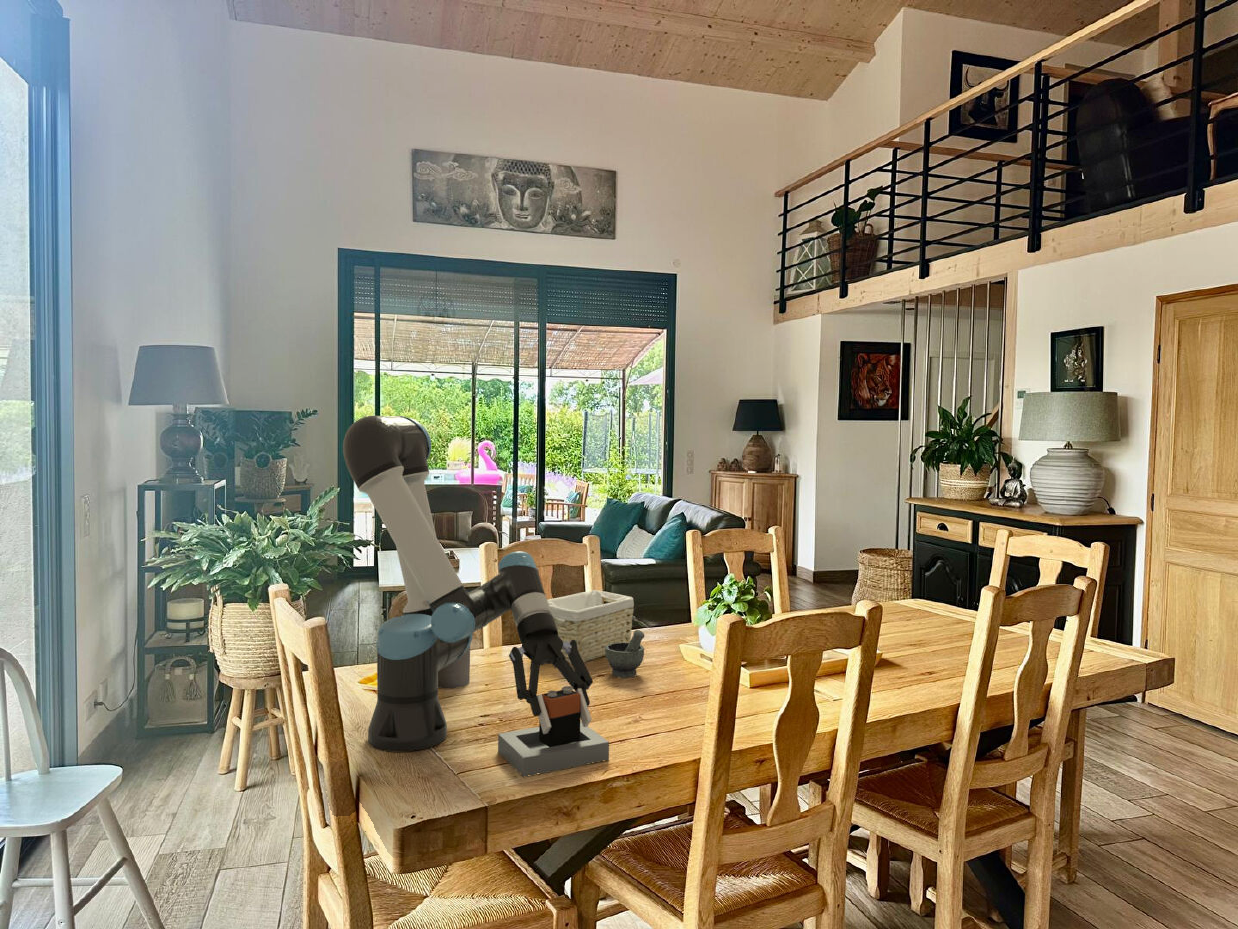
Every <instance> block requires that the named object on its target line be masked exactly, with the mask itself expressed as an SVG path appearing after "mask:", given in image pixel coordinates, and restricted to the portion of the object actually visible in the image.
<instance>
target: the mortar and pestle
mask: <svg viewBox="0 0 1238 929" xmlns="http://www.w3.org/2000/svg"><path fill="white" fill-rule="evenodd" d="M644 638H645V633H644V632H643V631H642V630H639V629H636V630H634V631H633V635H632V636H631V641H630V642H629V643H628V642H619V643H611V644H609V645H606V646H605V653H606V655H605V658H606V661H607V663H608V665H609V666H610V668H612V669H611V675H612V677H615V676H616V677H615V678H618V677H620V678H619V679H629V678H628V677H632V678H635V677H636V676H638V674H637V668H639V667H640V666H641V664H642V663H643V661H644V655H645V648H644V647H645V646H644V645H642V644H641V643H642V640H643V639H644ZM635 675H636V676H635Z"/></svg>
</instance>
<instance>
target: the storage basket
mask: <svg viewBox="0 0 1238 929" xmlns="http://www.w3.org/2000/svg"><path fill="white" fill-rule="evenodd" d="M547 600H548V603H549V606H550V609H551V612H552V616H553V618H554V621H555V624H556V627H557V631H558V636H559V637H560V638H561V639H562V641H563V642H571V640H575V641H576V642H577V650H578V652H579V654H580V656H581V658H582V660H583V662H584V663H586V662H589V661H592V660H597V659H599V658H601V657H602V658H603V657H604V656H605V657H606V653H605V646H606V645H609V644H611V643H619V642H628V643H629V642H630V641H631V639H632V628H633V617H634V616H633V614H634V606H635V605H634V604H635V603H634V598H633V597H632V596H628V595H623V594H619V593H615V592H614V593H613V592H608V591H603V590H597V589H592V590H589V591H584V592H577V593H574V594H570V595H565V596H560V597H559V596H558V597H556V598H549V599H547ZM604 602H606V603H604ZM561 652H562V653H563V654H564V656H565V659H566V660H567V662H568V663H569V662H570V660H569V657H568V654H566V653H565V650H564V649H561ZM596 658H597V659H596Z"/></svg>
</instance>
